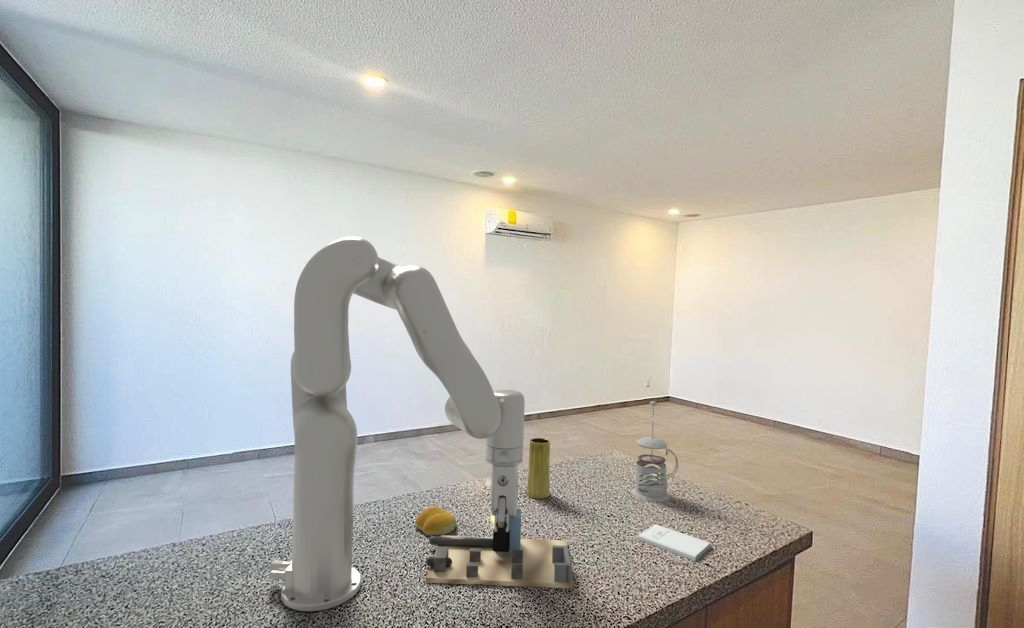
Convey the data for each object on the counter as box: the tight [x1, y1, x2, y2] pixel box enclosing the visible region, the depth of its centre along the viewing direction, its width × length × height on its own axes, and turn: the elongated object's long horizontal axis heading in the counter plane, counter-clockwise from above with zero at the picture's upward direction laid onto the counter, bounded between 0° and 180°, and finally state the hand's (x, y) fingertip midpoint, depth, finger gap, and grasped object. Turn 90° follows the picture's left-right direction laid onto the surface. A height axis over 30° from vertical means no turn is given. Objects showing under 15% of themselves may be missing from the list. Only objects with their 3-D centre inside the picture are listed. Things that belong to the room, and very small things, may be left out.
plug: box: [428, 508, 522, 553], centre depth 97 cm, size 18×4×7 cm, turn 89°
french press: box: [631, 400, 679, 503], centre depth 130 cm, size 10×12×25 cm
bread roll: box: [415, 506, 457, 536], centre depth 107 cm, size 8×9×4 cm
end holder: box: [552, 545, 572, 582], centre depth 89 cm, size 3×7×3 cm, turn 179°
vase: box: [526, 437, 551, 500], centre depth 127 cm, size 6×6×14 cm
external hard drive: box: [637, 524, 712, 562], centre depth 103 cm, size 2×8×12 cm
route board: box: [425, 535, 575, 589], centre depth 93 cm, size 27×16×3 cm, turn 89°
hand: (502, 540), depth 97 cm, fingers open, 7 cm apart
